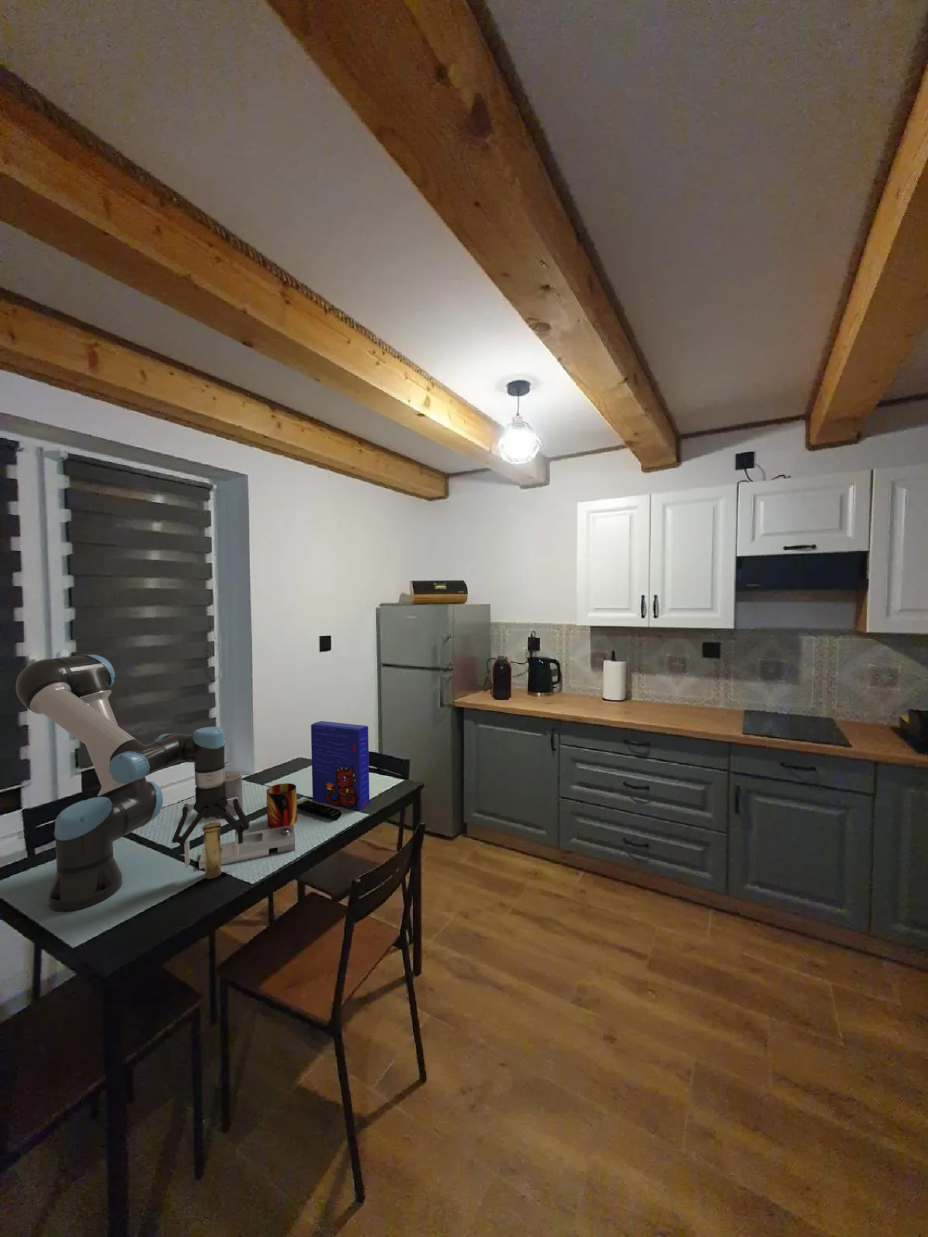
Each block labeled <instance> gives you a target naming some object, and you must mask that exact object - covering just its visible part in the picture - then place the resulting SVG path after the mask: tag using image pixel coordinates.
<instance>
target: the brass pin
mask: <svg viewBox="0 0 928 1237" xmlns="http://www.w3.org/2000/svg"><path fill="white" fill-rule="evenodd" d="M201 828H202V832H203V845H204V846H203V847H204V854H205V868H204V877H205V878H206V879H209V880H210V879H215V878H218V877H219V876H220V875H221V874H222V865H221V846H220V844H221V828H222V823H221V822H218V821H213V822H212V821H211V822H208V823H206V824H204V825H203V826H202V827H201Z"/></svg>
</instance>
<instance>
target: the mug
mask: <svg viewBox="0 0 928 1237" xmlns="http://www.w3.org/2000/svg"><path fill="white" fill-rule="evenodd" d="M297 802H298V800H297V785H296V784H294V783H291V782H287V783H286V782H284V783H283V782H282V783H278V784H277V783H276V784H273V785H272V786H269V787H268V788H267V789H266V819H267V821H266V825H267V828H268V829H272V828H277V827H283V826H288V825H293V826H294V825H295V824H296V823H297V822H298V818H297V817H298V809H297V808H298V806H297V805H298V804H297Z"/></svg>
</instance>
